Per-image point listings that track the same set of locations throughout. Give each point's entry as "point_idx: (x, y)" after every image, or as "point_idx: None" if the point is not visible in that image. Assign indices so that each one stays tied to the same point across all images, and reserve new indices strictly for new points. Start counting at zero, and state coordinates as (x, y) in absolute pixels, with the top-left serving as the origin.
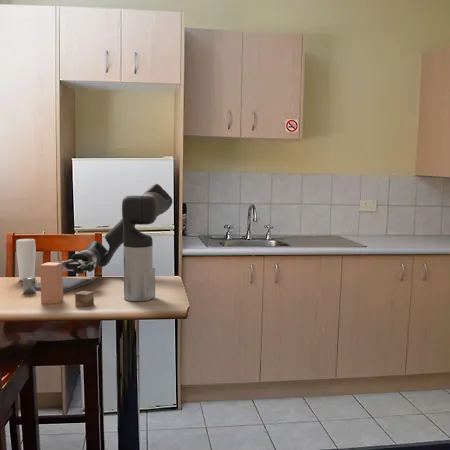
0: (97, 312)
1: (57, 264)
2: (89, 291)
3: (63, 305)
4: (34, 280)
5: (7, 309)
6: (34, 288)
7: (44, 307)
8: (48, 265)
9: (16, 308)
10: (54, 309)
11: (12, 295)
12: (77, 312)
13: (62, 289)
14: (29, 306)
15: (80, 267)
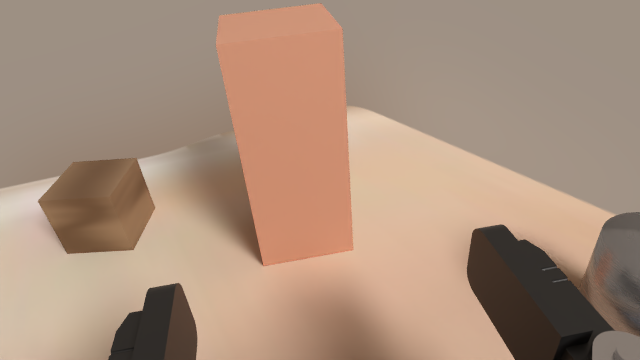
0: (46, 181)
1: (223, 24)
2: (62, 198)
3: (214, 202)
4: (604, 264)
5: (392, 126)
6: None
7: None
8: (267, 10)
9: (372, 137)
10: (226, 163)
11: None
12: None
13: (252, 212)
14: None
15: (144, 333)
